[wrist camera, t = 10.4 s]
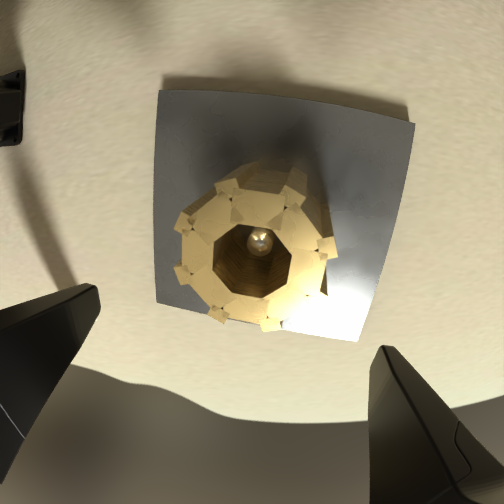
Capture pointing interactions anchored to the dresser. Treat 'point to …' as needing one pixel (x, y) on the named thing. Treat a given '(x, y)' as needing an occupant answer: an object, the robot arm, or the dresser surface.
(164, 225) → the carrier plate
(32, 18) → the dresser surface
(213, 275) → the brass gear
